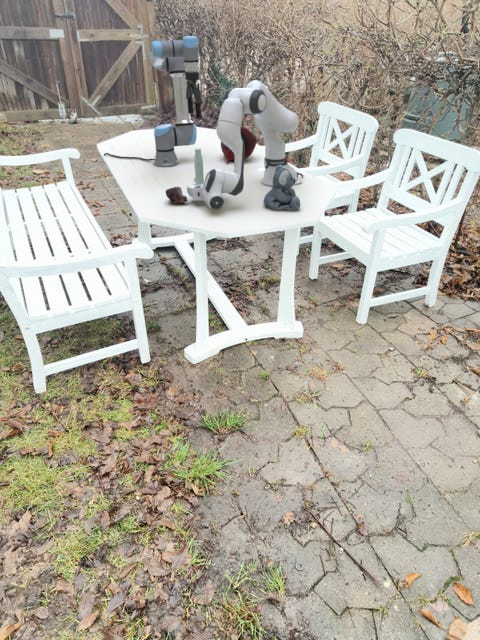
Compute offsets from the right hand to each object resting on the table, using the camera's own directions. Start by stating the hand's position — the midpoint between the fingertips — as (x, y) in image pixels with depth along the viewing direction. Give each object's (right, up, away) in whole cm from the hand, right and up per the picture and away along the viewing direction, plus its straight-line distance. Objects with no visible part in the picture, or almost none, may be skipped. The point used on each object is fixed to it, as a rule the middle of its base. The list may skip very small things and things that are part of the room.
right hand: (203, 184), depth 239 cm
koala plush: (+40, -14, -10) cm, 44 cm away
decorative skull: (+18, +37, +64) cm, 76 cm away
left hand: (-5, +40, +7) cm, 41 cm away
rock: (-14, -11, -5) cm, 18 cm away
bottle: (-3, +1, +12) cm, 13 cm away
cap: (-5, +12, +26) cm, 29 cm away
